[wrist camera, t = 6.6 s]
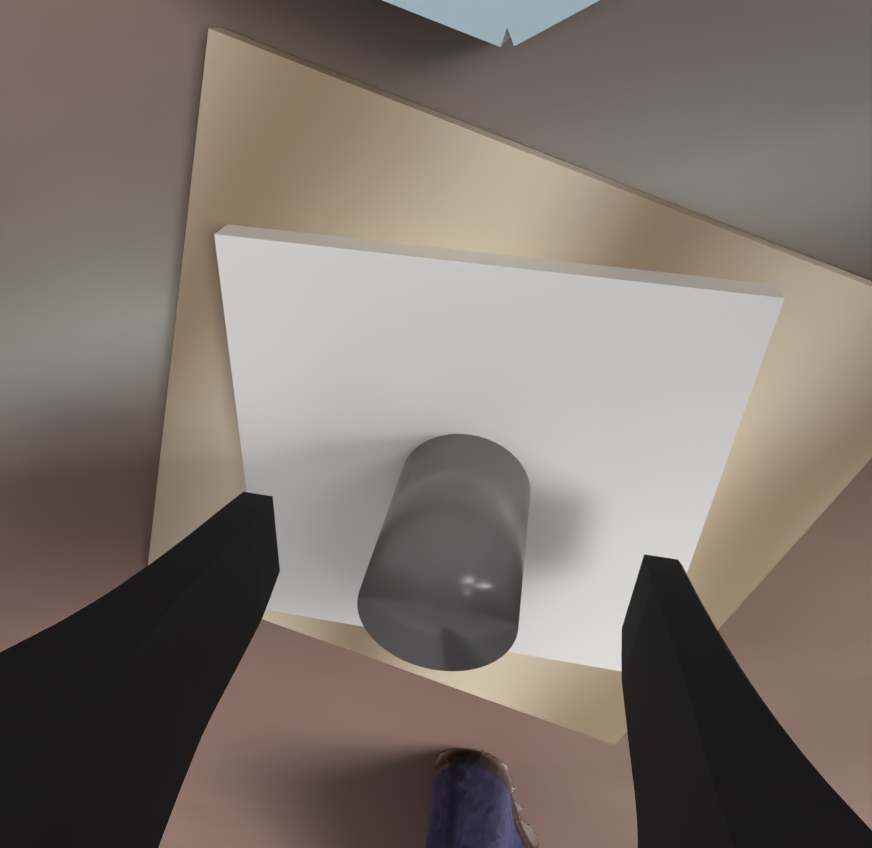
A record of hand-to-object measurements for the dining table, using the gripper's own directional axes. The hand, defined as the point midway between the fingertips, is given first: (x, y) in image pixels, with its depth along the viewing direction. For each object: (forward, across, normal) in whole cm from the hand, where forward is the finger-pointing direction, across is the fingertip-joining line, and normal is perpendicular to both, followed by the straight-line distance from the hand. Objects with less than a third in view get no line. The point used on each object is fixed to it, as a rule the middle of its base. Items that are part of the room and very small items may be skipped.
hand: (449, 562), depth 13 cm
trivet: (+3, 0, 0) cm, 3 cm away
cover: (+2, 0, 0) cm, 3 cm away
